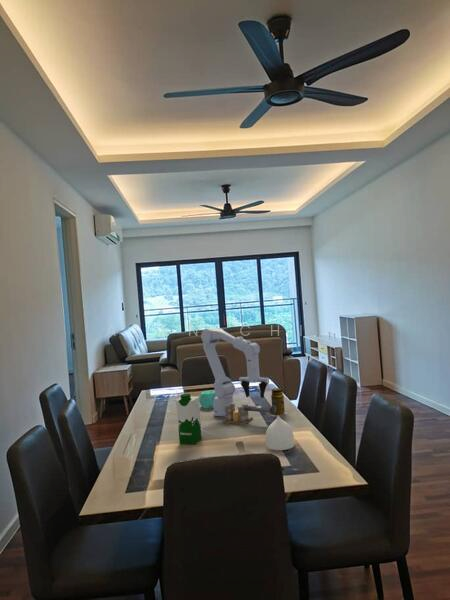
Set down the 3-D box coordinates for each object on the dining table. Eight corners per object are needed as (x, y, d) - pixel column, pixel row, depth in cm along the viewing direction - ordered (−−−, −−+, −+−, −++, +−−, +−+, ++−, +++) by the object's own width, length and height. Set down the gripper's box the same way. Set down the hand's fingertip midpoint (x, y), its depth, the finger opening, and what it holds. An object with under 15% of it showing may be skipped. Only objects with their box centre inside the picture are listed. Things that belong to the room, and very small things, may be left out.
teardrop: (275, 438, 178) (273, 409, 177) (299, 443, 171) (297, 412, 170) (260, 447, 169) (258, 416, 169) (284, 452, 162) (282, 420, 162)
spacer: (233, 422, 204) (232, 412, 204) (236, 419, 209) (236, 409, 209) (238, 423, 203) (237, 412, 203) (241, 420, 208) (240, 409, 208)
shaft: (243, 413, 202) (243, 405, 202) (247, 411, 205) (246, 403, 205) (273, 415, 195) (272, 407, 195) (276, 413, 198) (276, 405, 198)
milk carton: (176, 444, 179) (173, 395, 179) (185, 437, 187) (182, 390, 187) (196, 445, 176) (192, 396, 176) (204, 438, 184) (201, 391, 184)
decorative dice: (210, 409, 232) (209, 394, 232) (199, 407, 237) (198, 392, 237) (220, 405, 238) (219, 390, 238) (208, 404, 243) (207, 389, 243)
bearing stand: (223, 423, 204) (222, 407, 204) (233, 417, 213) (232, 402, 213) (243, 425, 199) (242, 408, 199) (252, 419, 207) (251, 403, 207)
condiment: (288, 413, 214) (286, 389, 214) (275, 417, 209) (273, 392, 209) (278, 410, 220) (277, 387, 220) (265, 414, 215) (264, 389, 215)
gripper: (235, 369, 207) (237, 398, 208) (263, 370, 200) (265, 399, 201) (242, 367, 214) (244, 394, 214) (269, 367, 207) (271, 396, 207)
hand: (255, 397), depth 208 cm, fingers open, 7 cm apart
